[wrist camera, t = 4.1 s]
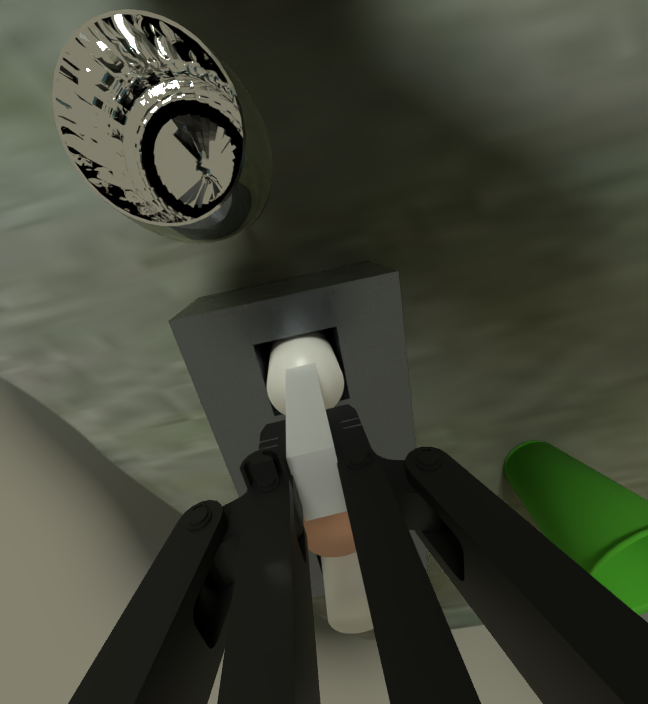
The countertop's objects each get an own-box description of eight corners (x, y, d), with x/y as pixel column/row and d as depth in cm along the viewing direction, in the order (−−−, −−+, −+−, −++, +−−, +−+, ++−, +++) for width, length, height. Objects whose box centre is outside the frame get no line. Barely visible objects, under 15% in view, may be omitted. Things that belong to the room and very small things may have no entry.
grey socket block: (198, 297, 21) (168, 321, 16) (369, 260, 22) (398, 271, 16) (283, 537, 30) (282, 606, 25) (401, 507, 31) (427, 568, 25)
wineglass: (162, 198, 19) (-12, 152, 8) (210, 108, 18) (84, -104, 6) (246, 257, 21) (201, 286, 9) (295, 178, 19) (310, 107, 8)
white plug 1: (265, 321, 22) (257, 360, 15) (321, 309, 22) (336, 342, 15) (279, 372, 23) (277, 426, 17) (331, 360, 23) (349, 410, 17)
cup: (486, 506, 32) (580, 633, 22) (481, 437, 29) (589, 551, 18) (568, 481, 32) (699, 596, 22) (573, 410, 29) (731, 507, 19)
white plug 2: (312, 506, 25) (322, 602, 18) (360, 494, 25) (387, 585, 19) (321, 539, 26) (334, 640, 20) (367, 528, 27) (394, 624, 20)
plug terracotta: (290, 430, 22) (293, 513, 16) (345, 417, 22) (370, 494, 16) (302, 473, 24) (310, 564, 17) (353, 461, 24) (379, 546, 17)
